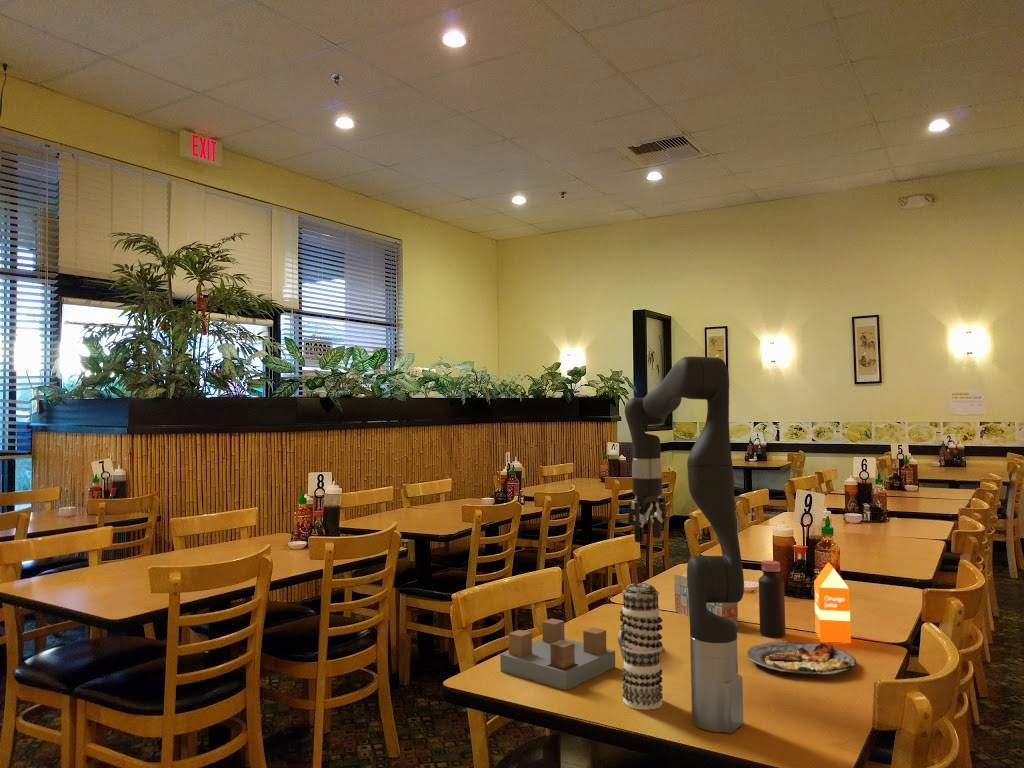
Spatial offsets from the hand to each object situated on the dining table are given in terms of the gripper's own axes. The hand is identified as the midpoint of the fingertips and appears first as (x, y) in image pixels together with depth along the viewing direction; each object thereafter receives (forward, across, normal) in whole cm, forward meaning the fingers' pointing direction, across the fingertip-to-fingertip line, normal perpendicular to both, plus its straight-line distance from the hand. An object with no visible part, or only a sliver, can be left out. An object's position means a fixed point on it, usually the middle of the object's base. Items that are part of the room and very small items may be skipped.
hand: (648, 539), depth 190 cm
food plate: (+31, +21, -30) cm, 48 cm away
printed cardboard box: (+30, +43, +7) cm, 53 cm away
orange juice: (+30, +47, -29) cm, 63 cm away
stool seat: (+30, -20, +14) cm, 39 cm away
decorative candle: (+30, -25, -13) cm, 41 cm away
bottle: (+30, +40, -15) cm, 52 cm away
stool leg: (+30, -26, +8) cm, 41 cm away
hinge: (+30, +1, +4) cm, 31 cm away
